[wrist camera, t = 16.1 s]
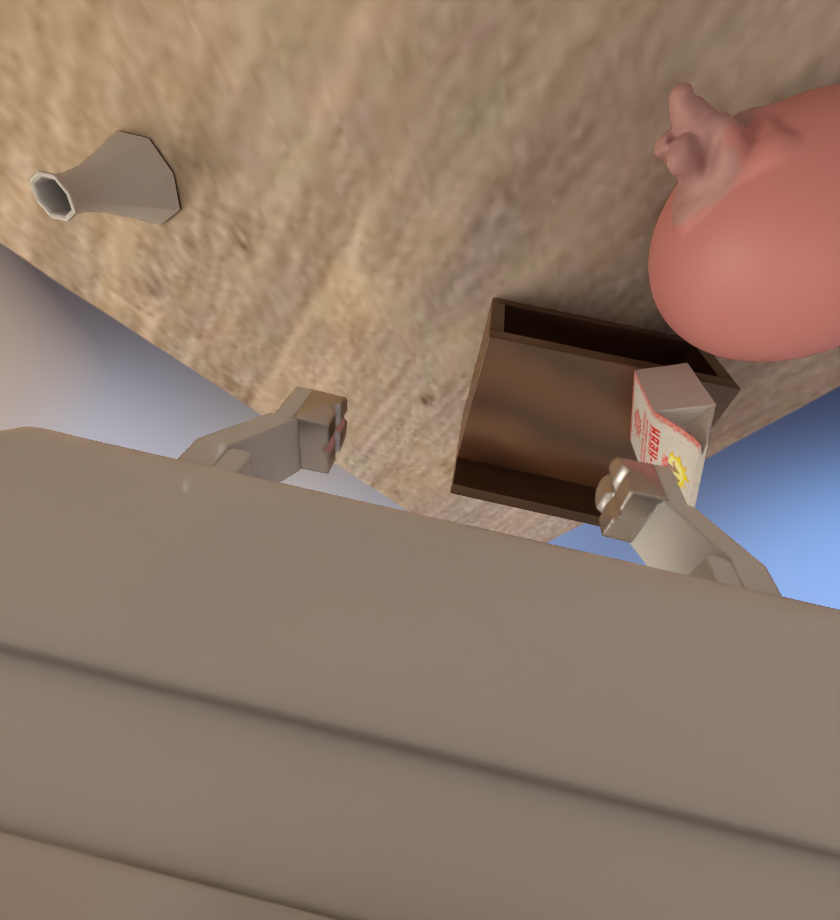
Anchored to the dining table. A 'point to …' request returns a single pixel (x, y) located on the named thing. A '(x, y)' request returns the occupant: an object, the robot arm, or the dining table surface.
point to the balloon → (751, 227)
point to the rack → (560, 406)
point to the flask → (112, 183)
